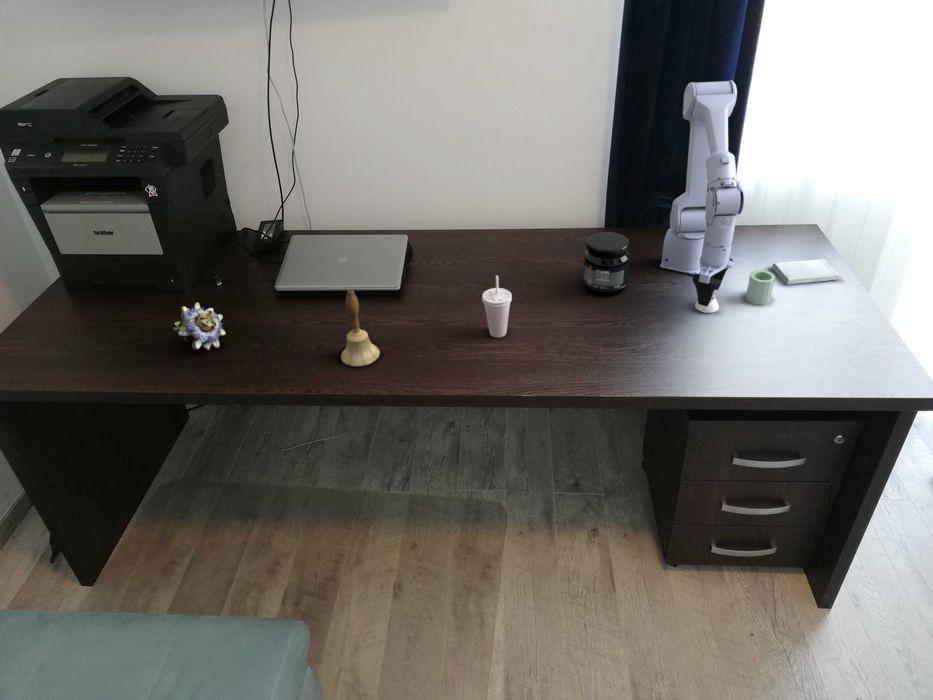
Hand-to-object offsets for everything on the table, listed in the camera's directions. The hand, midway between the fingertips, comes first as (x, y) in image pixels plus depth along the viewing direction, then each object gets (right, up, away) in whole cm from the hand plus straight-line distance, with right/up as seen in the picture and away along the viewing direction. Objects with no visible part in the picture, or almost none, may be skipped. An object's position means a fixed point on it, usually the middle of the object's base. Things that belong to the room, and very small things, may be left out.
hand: (708, 296), depth 159 cm
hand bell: (-77, -13, -6) cm, 78 cm away
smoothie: (-47, -8, -2) cm, 48 cm away
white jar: (0, -3, +2) cm, 3 cm away
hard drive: (+27, +6, +12) cm, 30 cm away
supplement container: (-21, +3, +12) cm, 24 cm away
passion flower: (-113, -11, +1) cm, 114 cm away
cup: (+13, 0, +4) cm, 13 cm away
